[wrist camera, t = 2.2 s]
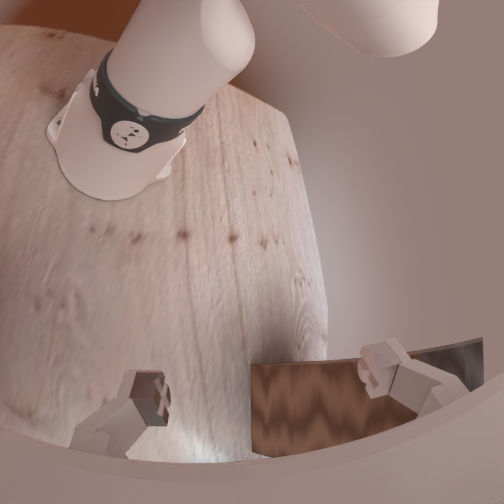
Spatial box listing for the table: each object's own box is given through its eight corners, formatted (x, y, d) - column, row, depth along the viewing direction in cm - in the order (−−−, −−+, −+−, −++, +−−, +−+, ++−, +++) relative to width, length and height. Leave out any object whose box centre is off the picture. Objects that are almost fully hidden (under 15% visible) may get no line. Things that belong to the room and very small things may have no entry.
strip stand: (250, 364, 39) (486, 340, 18) (293, 361, 46) (485, 336, 24) (252, 451, 34) (476, 473, 13) (294, 437, 41) (482, 439, 19)
